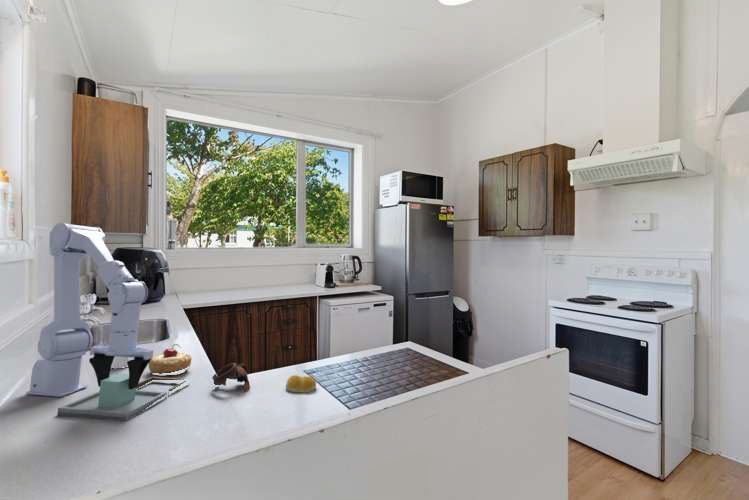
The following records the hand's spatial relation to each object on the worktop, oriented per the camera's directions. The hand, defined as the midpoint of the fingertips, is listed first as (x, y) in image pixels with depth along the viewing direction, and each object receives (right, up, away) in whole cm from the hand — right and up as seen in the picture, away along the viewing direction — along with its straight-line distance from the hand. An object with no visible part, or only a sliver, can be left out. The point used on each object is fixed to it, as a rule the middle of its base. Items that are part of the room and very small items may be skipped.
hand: (117, 386), depth 85 cm
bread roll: (+40, -9, +21) cm, 46 cm away
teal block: (0, -4, 0) cm, 4 cm away
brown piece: (+21, -8, +17) cm, 28 cm away
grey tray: (0, -5, 0) cm, 5 cm away
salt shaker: (-21, -5, +30) cm, 37 cm away
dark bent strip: (+2, -6, +13) cm, 14 cm away
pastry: (-4, -7, +28) cm, 29 cm away
